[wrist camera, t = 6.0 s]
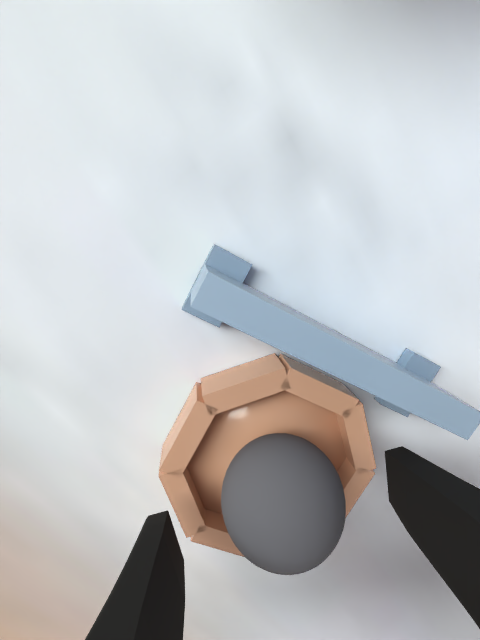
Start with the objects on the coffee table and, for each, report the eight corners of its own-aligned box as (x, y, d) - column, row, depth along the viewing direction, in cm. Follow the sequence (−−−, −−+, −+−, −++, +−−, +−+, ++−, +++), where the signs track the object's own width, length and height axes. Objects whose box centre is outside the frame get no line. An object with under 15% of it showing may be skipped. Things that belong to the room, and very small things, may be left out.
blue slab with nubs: (431, 362, 13) (498, 396, 10) (400, 410, 14) (455, 457, 11) (213, 244, 11) (220, 246, 8) (182, 306, 11) (178, 330, 8)
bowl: (387, 404, 13) (408, 423, 12) (296, 544, 15) (307, 575, 13) (225, 327, 12) (229, 339, 10) (137, 493, 13) (130, 523, 11)
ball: (323, 411, 12) (384, 487, 9) (308, 499, 13) (358, 603, 10) (219, 411, 12) (237, 494, 8) (211, 504, 13) (223, 619, 9)
